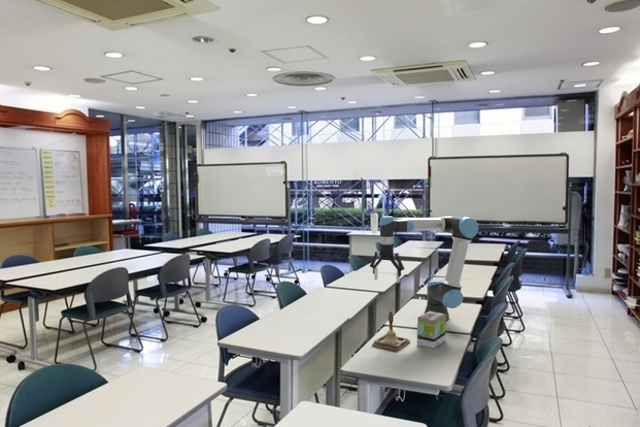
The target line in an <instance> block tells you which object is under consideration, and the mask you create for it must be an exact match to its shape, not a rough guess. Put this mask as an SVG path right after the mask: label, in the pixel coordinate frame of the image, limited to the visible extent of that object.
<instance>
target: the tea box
mask: <svg viewBox="0 0 640 427" xmlns="http://www.w3.org/2000/svg"><path fill="white" fill-rule="evenodd" d="M446 327H447V320H446V314H442V313H437V312H432V311H429V312H427V313H425V314H424V313H423V314H421V315H420V316H417V329H416V330H417V332H416V334H417V335H416V345H417V346H422V347H427V348H431V349H435V348H437V347H438V346H439V345H441V344H442V343H444V342H446V331H447V330H446Z"/></svg>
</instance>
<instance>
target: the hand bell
mask: <svg viewBox="0 0 640 427" xmlns="http://www.w3.org/2000/svg"><path fill="white" fill-rule="evenodd" d="M387 319H388V323H389V325H388V326H389V329H388V330H387V331H386V334H387V335H386V338H385V339H384V340H383V342H384V343H388V344H393V345H395V344H398V343H399V340H398V339H397V338H396V336H397V335H396V331H395V330H393V329H394V328H393V327H394V326H393V322H394V314H393V312H392V311H389V312H388V317H387Z"/></svg>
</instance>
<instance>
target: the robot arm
mask: <svg viewBox="0 0 640 427" xmlns="http://www.w3.org/2000/svg"><path fill="white" fill-rule="evenodd" d="M413 231H437V232H439V233H447V234H450V235H451V238H452V246H451V250H450V254H449V260H448V263H447V268H446V274H445V277H444V280H437V279H436V280H430V281H427V286H426V293H427V294H426V307H425V310H424V313H423V314H425V313H427V312H429V311H432V312H437V313H442V314H446V321H447V320H449V319H450V313H449V310H448V309H457V308H458V307H460V306H461V305H462V303H463V300H464V295H463V292H462V288H463V287H462V285H461V283H460V282H461V278H462V274H463V269H464V266H465V262H466V256H467V253H468V252H467V251H468V248H469V244H470V243H471V242H472V241H473V238H474V237H475V236H477V234H478V232H479V224H478V222H477V221H476V220H475V219H474V218H472V217H469V216H465V215H463V216H462V215H449V216H448V215H447V216H439V217H395V216H391V215H390V216H389V215H383V216H381V217H380V218H379V251H378V250H377V251H375V252H374V255H373V258H372V260H371V262H370V265H369V267H370V268H372V274H373V276H374V278H373V280H374V281H377V280H378V275H379V274H378V273H379V272H378V266H379V265H380V263H381V262H382V261H389V262H391V264H392V265H393V266H394V268H395V269H396V271H395V272H396V275H395V277H396V281H395V282H396V283H400V279H401V278H400V277H401V276H402V271H404V270H405V266H404V265H403V262H402V259H401V258H400V253H399V252H397V253H395V252H394V234H397V233H399V234H400V233H401V234H402V233H412V232H413ZM379 256H380V257H379ZM378 257H379V259H378Z"/></svg>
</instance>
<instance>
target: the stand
mask: <svg viewBox="0 0 640 427" xmlns="http://www.w3.org/2000/svg"><path fill="white" fill-rule="evenodd" d="M386 335H387V333H385V334H383V335H381V336H380V337H378V338H377V339H375V340H374V341H373V343H372V344H371V346H372V347H373V348H377V349H382V350H385V351H390V352H395V353H398V352H399V351H400V350H402V349H403V348H405V347H406V346H407V345H409V344H410V343H411V340H409V338H406V337H400V336H397V335H396V338H397V339H398V340H399V343H398V344H395V345H393V344H388V343H384V342H383V340H384V339H385V338H386Z"/></svg>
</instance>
